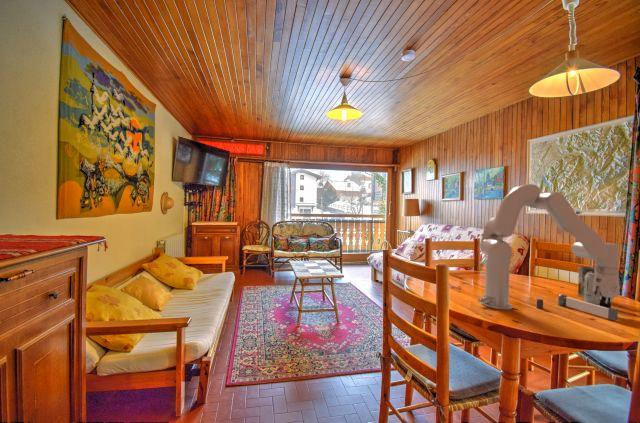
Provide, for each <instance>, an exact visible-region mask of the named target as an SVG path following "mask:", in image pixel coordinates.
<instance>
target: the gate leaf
mask: <svg viewBox="0 0 640 423" xmlns="http://www.w3.org/2000/svg"><path fill="white" fill-rule="evenodd" d="M566 307H569V308H573V309H575V310H578V311H581V312H582V311H583V312H585V313H589V314H592V315H595V316H597V317H598V316H599V317H601V318H606V319H608V320H612V321H618V318H619V313H618V312H619V309H617V308H613V307H611V308H606V307H602V306H599V305H595V304H591V303H587V302H585V301H584V300H583V301H582V300H580V299H577V298H572V297H567V298H566Z"/></svg>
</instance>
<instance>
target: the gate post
mask: <svg viewBox="0 0 640 423" xmlns="http://www.w3.org/2000/svg"><path fill="white" fill-rule="evenodd" d="M566 298H567V295H566V294H562V293H559V294H558V300H557V303H558V304H557V305H558V306H560V307H567V306H566Z"/></svg>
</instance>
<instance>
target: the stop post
mask: <svg viewBox="0 0 640 423" xmlns="http://www.w3.org/2000/svg"><path fill="white" fill-rule="evenodd" d="M536 309H538V310H543V309H544V299H543V298H542V299H541V298H536Z"/></svg>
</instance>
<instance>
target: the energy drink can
mask: <svg viewBox="0 0 640 423" xmlns="http://www.w3.org/2000/svg"><path fill="white" fill-rule="evenodd" d="M594 276H595V273H589V272H588V273H587V274H586V275H585V287H584V298H583V301H584V302H587V303H591V304H595V305H599V304H600V302H599V299H596V295H595V294H594V293H593V282H594Z"/></svg>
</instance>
